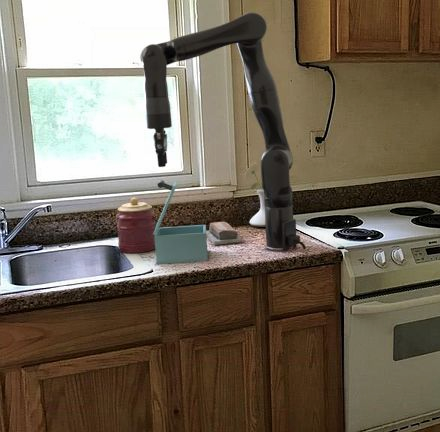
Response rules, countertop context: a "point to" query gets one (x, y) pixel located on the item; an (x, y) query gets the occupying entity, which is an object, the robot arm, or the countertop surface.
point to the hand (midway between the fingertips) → (162, 165)
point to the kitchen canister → (136, 227)
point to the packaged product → (222, 233)
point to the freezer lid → (172, 188)
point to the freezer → (181, 244)
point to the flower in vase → (260, 216)
